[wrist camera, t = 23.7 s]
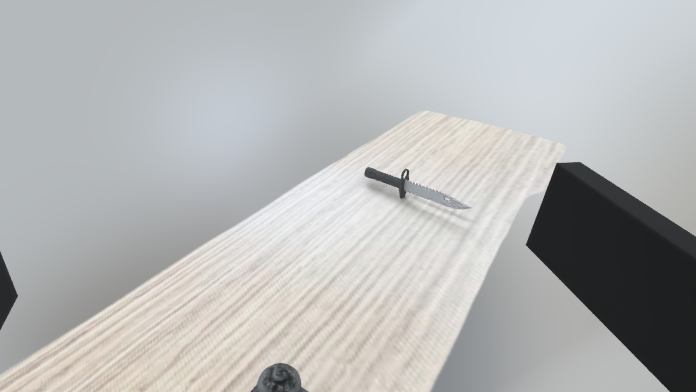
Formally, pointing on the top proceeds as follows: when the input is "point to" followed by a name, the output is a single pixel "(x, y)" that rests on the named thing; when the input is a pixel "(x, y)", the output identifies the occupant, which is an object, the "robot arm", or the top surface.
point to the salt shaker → (279, 379)
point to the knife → (414, 188)
